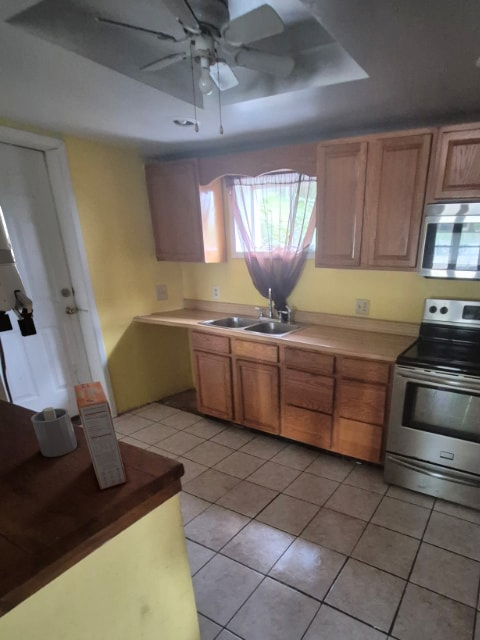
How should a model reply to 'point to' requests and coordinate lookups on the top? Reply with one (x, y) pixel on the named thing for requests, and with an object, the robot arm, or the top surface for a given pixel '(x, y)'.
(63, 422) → the pen pot
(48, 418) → the marker
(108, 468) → the cracker box
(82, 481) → the top surface
